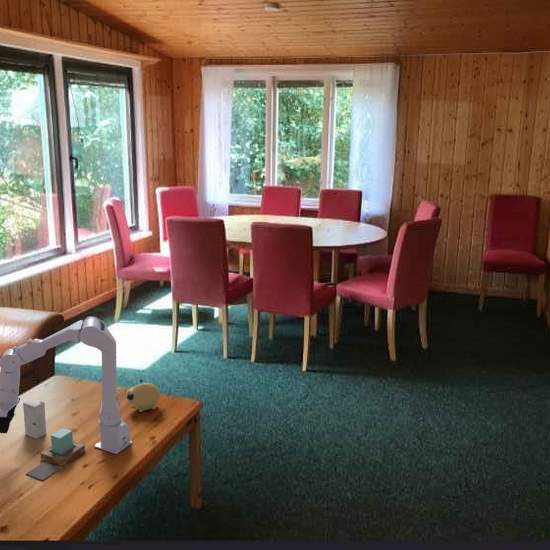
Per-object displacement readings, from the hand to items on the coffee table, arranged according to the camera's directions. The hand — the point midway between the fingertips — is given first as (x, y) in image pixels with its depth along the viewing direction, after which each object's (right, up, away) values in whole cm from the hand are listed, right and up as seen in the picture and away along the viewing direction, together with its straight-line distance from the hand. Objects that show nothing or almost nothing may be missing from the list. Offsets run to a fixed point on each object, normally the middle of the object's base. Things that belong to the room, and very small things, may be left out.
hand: (5, 426), depth 186 cm
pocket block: (+17, -10, +4) cm, 20 cm away
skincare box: (+3, -7, +16) cm, 17 cm away
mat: (+14, -13, -5) cm, 19 cm away
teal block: (+17, -10, +4) cm, 20 cm away
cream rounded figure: (+36, -2, +34) cm, 49 cm away
